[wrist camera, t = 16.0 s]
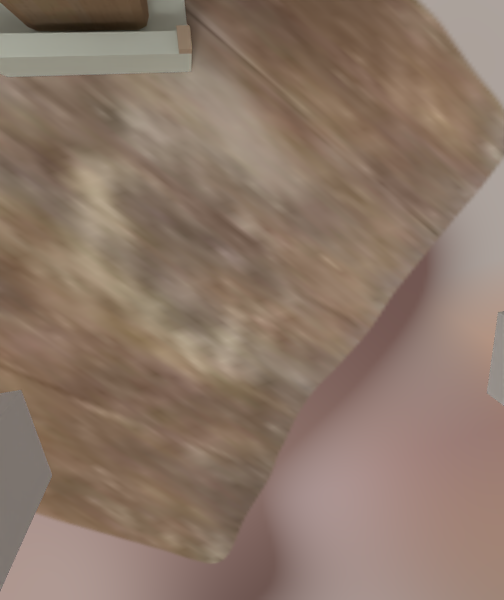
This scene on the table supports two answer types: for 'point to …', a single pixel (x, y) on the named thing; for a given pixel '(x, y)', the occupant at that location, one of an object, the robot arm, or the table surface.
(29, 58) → the pale green tray
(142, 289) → the table surface
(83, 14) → the wooden block
